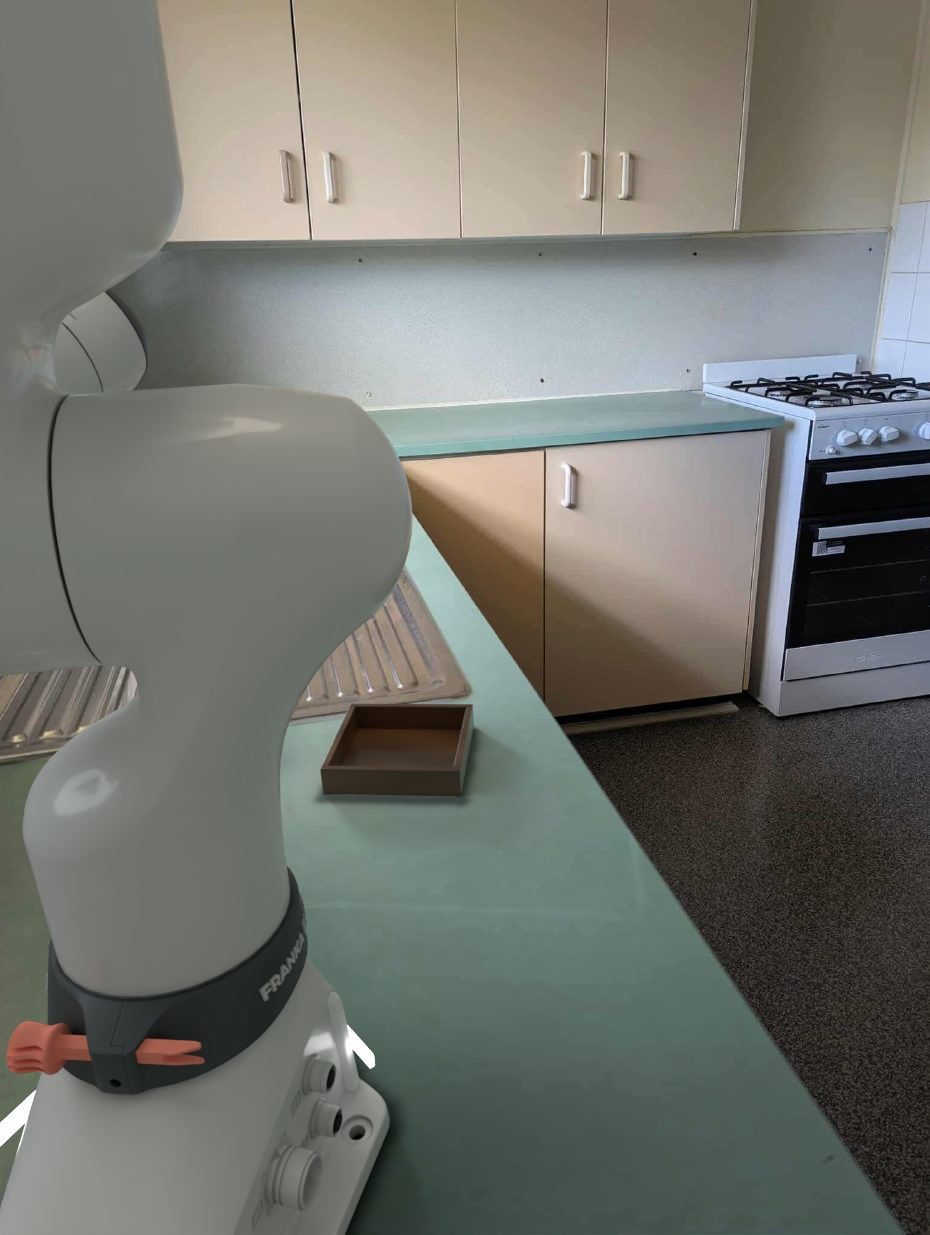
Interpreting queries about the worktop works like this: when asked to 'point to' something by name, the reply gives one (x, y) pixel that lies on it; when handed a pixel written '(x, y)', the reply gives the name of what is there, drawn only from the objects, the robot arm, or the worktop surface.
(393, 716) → the tray
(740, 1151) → the worktop surface
